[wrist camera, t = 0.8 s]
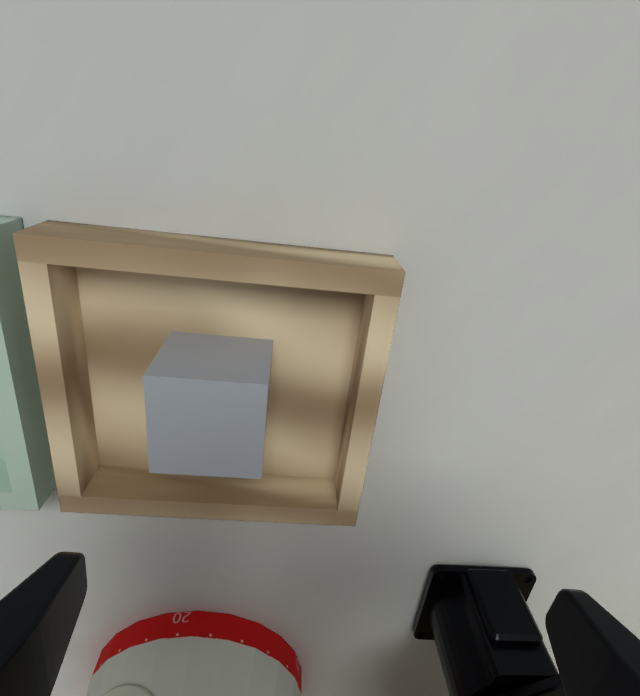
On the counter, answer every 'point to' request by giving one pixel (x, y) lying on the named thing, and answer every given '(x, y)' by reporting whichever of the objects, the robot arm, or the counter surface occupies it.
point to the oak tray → (215, 319)
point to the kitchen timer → (196, 659)
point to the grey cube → (208, 405)
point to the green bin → (19, 392)
